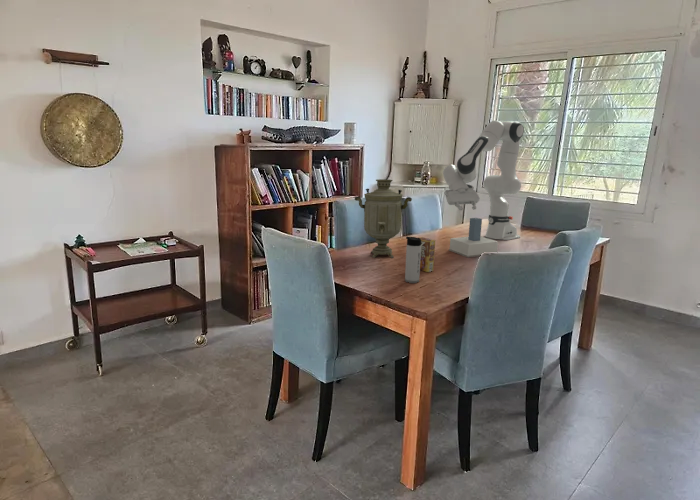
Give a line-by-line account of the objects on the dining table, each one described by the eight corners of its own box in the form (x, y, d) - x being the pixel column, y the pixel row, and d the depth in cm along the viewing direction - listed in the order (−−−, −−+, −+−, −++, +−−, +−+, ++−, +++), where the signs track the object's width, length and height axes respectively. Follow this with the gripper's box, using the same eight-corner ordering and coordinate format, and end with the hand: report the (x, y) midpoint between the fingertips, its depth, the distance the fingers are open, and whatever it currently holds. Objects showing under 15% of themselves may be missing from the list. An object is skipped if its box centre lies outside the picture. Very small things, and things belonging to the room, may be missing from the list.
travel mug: (402, 279, 206) (404, 235, 202) (417, 278, 207) (419, 235, 202) (405, 283, 200) (407, 238, 195) (420, 283, 201) (423, 238, 196)
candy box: (433, 271, 219) (436, 239, 216) (427, 272, 217) (429, 241, 213) (420, 266, 226) (421, 236, 222) (413, 268, 223) (415, 237, 220)
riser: (477, 247, 268) (478, 235, 266) (497, 254, 253) (499, 241, 251) (448, 250, 259) (449, 238, 258) (467, 257, 245) (468, 244, 243)
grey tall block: (474, 238, 257) (476, 217, 255) (480, 240, 254) (482, 219, 251) (468, 239, 256) (470, 218, 253) (473, 241, 252) (475, 219, 249)
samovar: (344, 259, 237) (345, 181, 228) (361, 247, 261) (362, 176, 251) (401, 265, 228) (404, 184, 218) (412, 253, 251) (416, 179, 242)
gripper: (446, 186, 257) (455, 206, 250) (475, 185, 265) (485, 205, 259) (440, 193, 262) (450, 213, 255) (469, 192, 270) (479, 211, 264)
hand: (468, 209), depth 257 cm, fingers open, 8 cm apart
